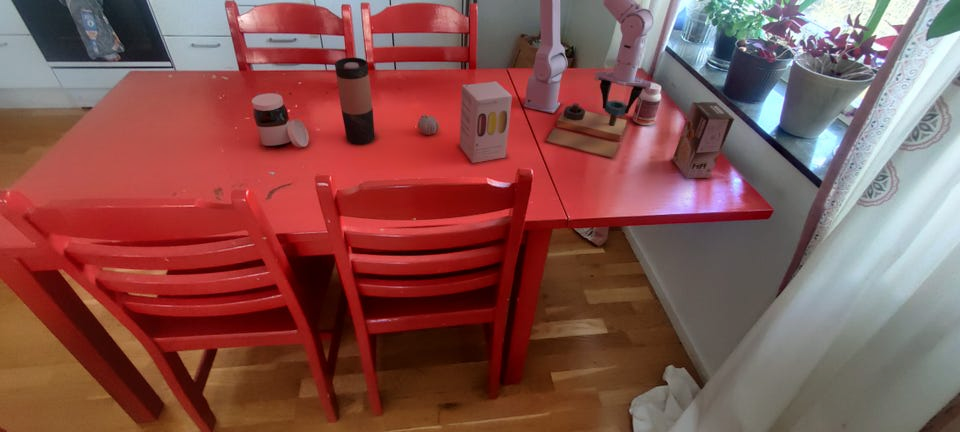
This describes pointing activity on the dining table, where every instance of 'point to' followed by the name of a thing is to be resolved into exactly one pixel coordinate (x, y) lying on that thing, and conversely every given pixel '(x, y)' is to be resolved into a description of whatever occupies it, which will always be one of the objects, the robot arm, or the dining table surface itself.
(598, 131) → the peg board
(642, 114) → the pill bottle
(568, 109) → the charcoal ring
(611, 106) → the teal ring
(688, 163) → the coffee box
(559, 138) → the cork mat
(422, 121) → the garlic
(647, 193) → the dining table surface
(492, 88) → the supplement box
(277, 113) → the spread jar
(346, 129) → the travel mug
